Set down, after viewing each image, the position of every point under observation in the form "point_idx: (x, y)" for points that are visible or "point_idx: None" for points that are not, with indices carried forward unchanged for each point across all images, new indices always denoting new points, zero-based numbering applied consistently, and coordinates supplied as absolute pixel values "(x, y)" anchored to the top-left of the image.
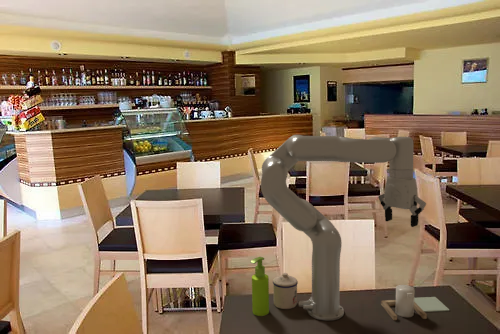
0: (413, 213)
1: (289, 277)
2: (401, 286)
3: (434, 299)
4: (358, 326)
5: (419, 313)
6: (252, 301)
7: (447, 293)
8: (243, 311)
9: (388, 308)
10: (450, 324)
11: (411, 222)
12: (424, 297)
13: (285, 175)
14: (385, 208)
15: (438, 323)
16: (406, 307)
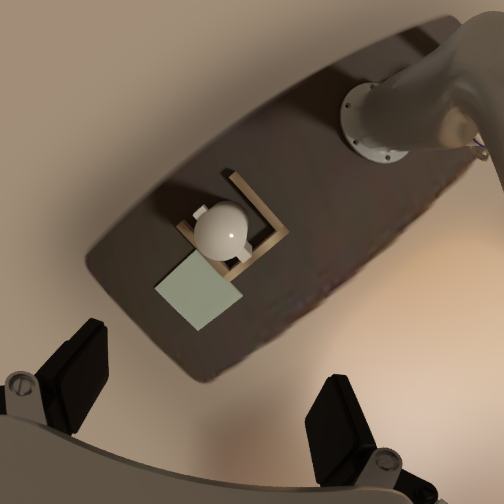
0: (26, 389)
1: None
2: (233, 242)
3: (194, 318)
4: (291, 100)
5: None
6: None
7: (187, 358)
8: None
9: (259, 201)
10: (135, 230)
11: (81, 335)
12: (215, 316)
13: None
14: (378, 461)
15: (153, 219)
16: (213, 206)
